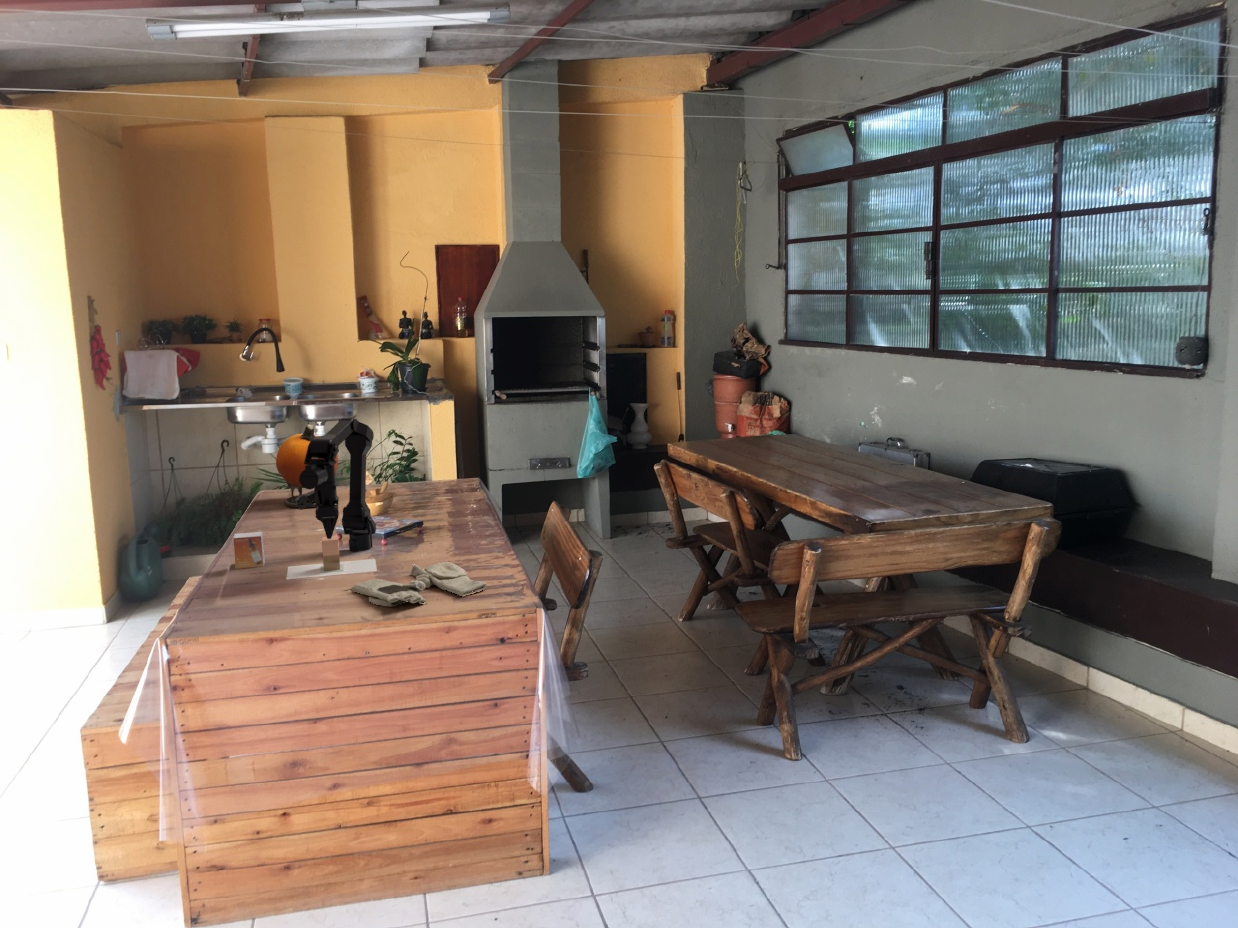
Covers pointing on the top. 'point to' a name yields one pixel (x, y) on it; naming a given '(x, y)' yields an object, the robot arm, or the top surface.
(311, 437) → the pumpkin
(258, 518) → the top surface
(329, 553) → the terracotta block
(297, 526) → the top surface
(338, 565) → the walnut block
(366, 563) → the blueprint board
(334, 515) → the robot arm
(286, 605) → the top surface
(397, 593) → the pair of gloves
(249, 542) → the small box
